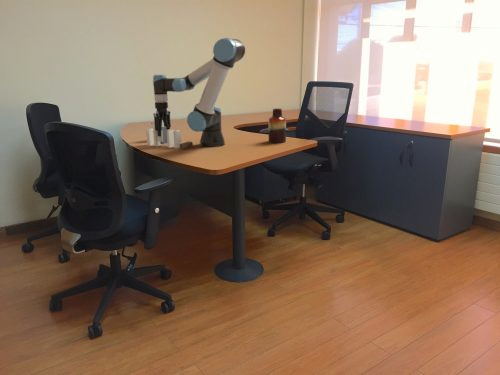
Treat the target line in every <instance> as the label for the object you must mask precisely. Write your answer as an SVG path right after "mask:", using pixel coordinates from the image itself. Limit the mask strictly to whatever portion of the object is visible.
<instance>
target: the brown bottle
mask: <svg viewBox="0 0 500 375" xmlns="http://www.w3.org/2000/svg"><path fill="white" fill-rule="evenodd" d="M268 142H269V143H270V142H271V144H283V143H286V142H287V118H286V117H284V116H283V109H282V108H272V116H271V117H269V118H268Z"/></svg>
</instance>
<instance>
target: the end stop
mask: <svg viewBox="0 0 500 375" xmlns="http://www.w3.org/2000/svg"><path fill="white" fill-rule="evenodd" d="M193 146H194V144H193V141H185V142H181V144H180V147H179V150H187V149H190V148H193Z"/></svg>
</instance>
